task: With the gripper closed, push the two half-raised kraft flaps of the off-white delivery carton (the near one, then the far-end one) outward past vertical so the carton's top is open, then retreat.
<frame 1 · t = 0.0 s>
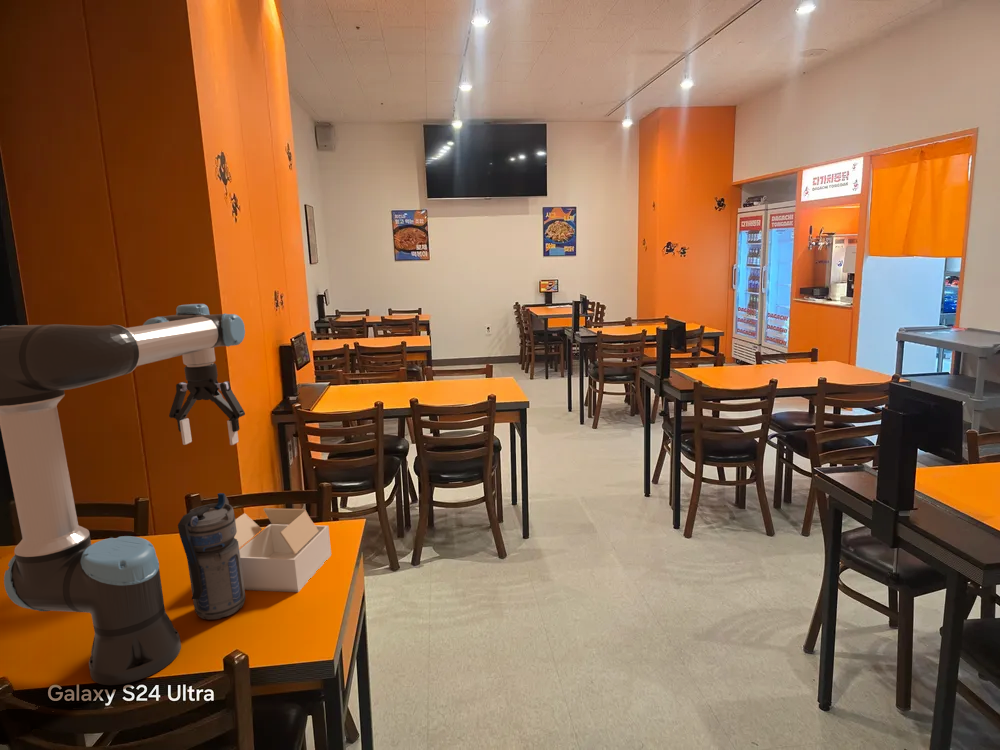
hand: (210, 443, 163), 28 cm above the table, fingers open, 13 cm apart
carton: (285, 571, 151), on the table
beverage bottle: (218, 612, 134), on the table
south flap: (300, 531, 146), point 11 cm above the table, hinge at 60.0°
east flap: (288, 516, 156), point 11 cm above the table, hinge at 60.0°
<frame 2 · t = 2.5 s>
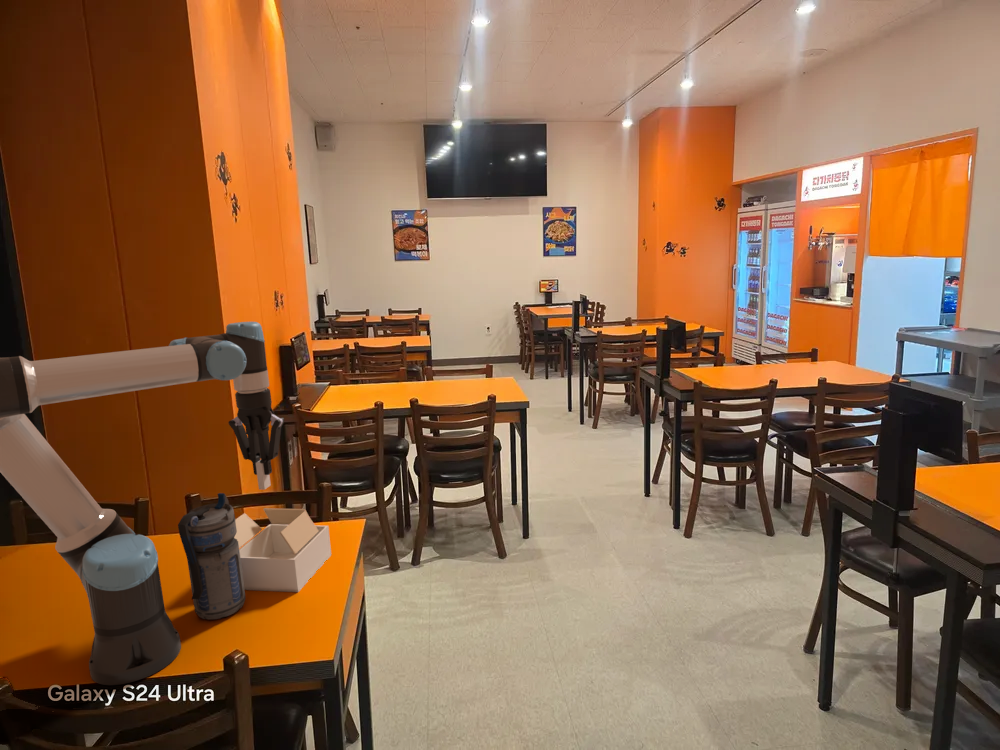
hand: (264, 487, 146), 22 cm above the table, fingers closed
nothing on the table moved.
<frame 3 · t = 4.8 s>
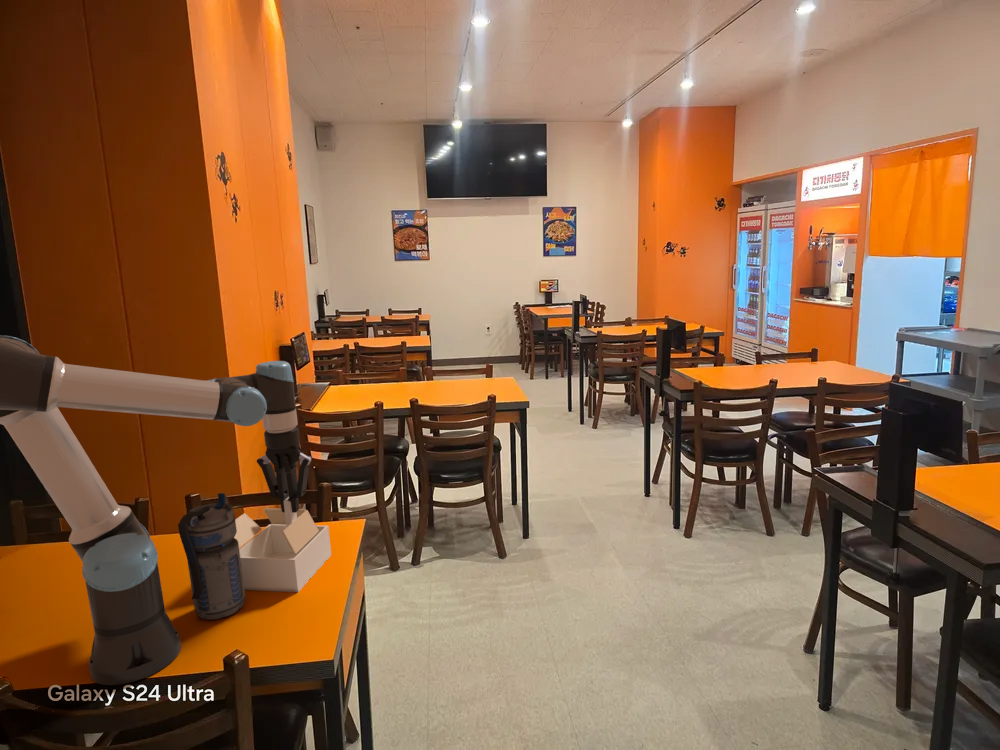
hand: (292, 524, 146), 13 cm above the table, fingers closed
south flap: (301, 531, 146), point 11 cm above the table, hinge at 65.8°, touching gripper
everything else where it was.
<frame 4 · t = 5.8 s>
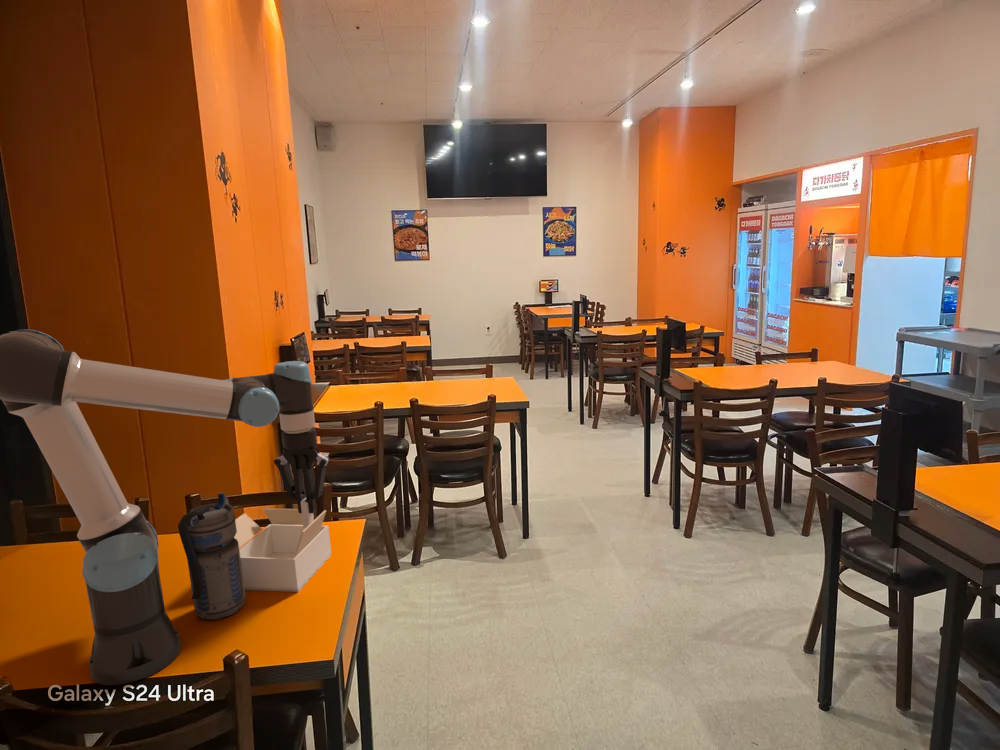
hand: (308, 525, 146), 13 cm above the table, fingers closed
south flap: (311, 531, 146), point 11 cm above the table, hinge at 113.1°, touching gripper
everything else where it was.
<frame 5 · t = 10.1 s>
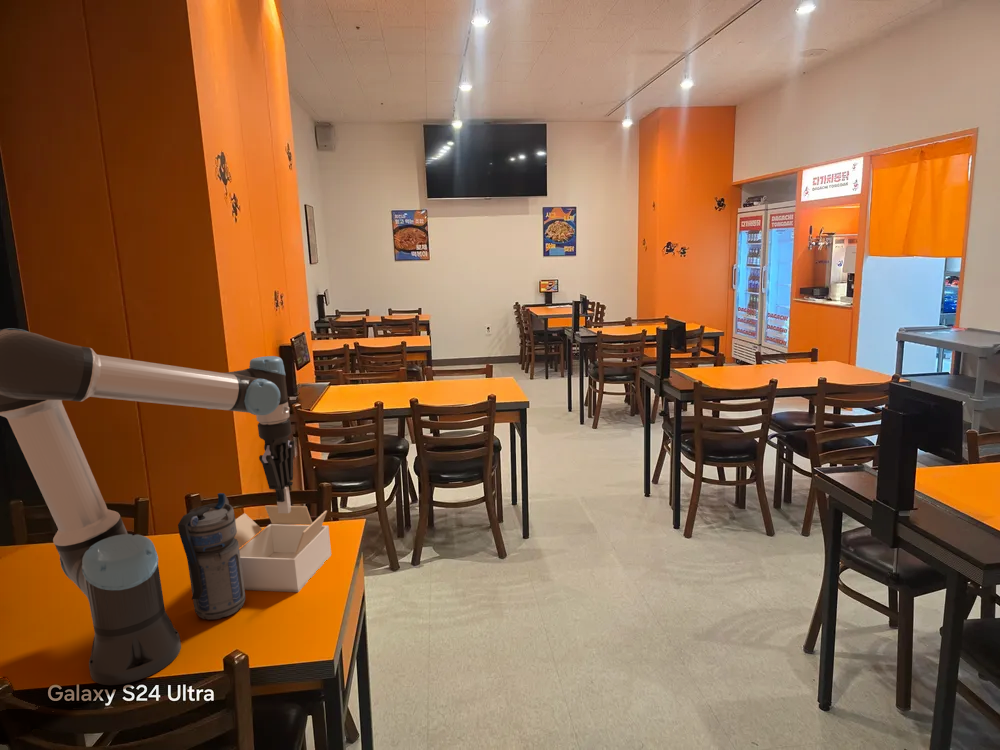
hand: (284, 512, 154), 13 cm above the table, fingers closed
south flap: (311, 531, 146), point 11 cm above the table, hinge at 115.0°
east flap: (288, 515, 156), point 11 cm above the table, hinge at 68.6°, touching gripper
everything else where it was.
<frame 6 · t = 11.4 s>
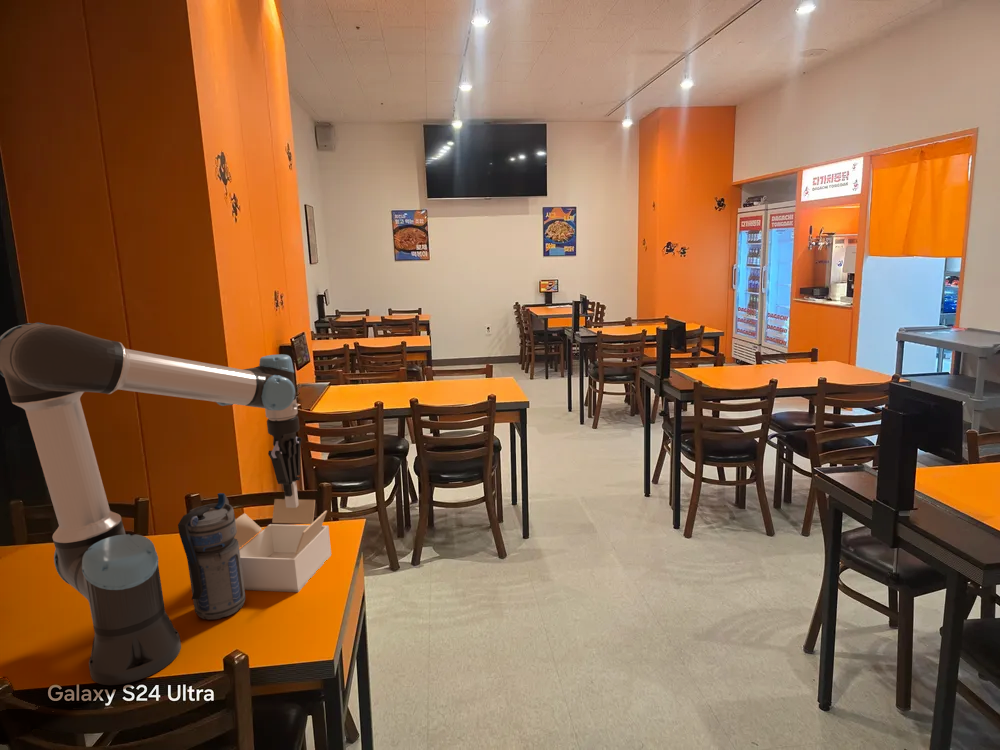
hand: (292, 506, 158), 13 cm above the table, fingers closed
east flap: (293, 511, 159), point 11 cm above the table, hinge at 115.0°, touching gripper
everything else where it was.
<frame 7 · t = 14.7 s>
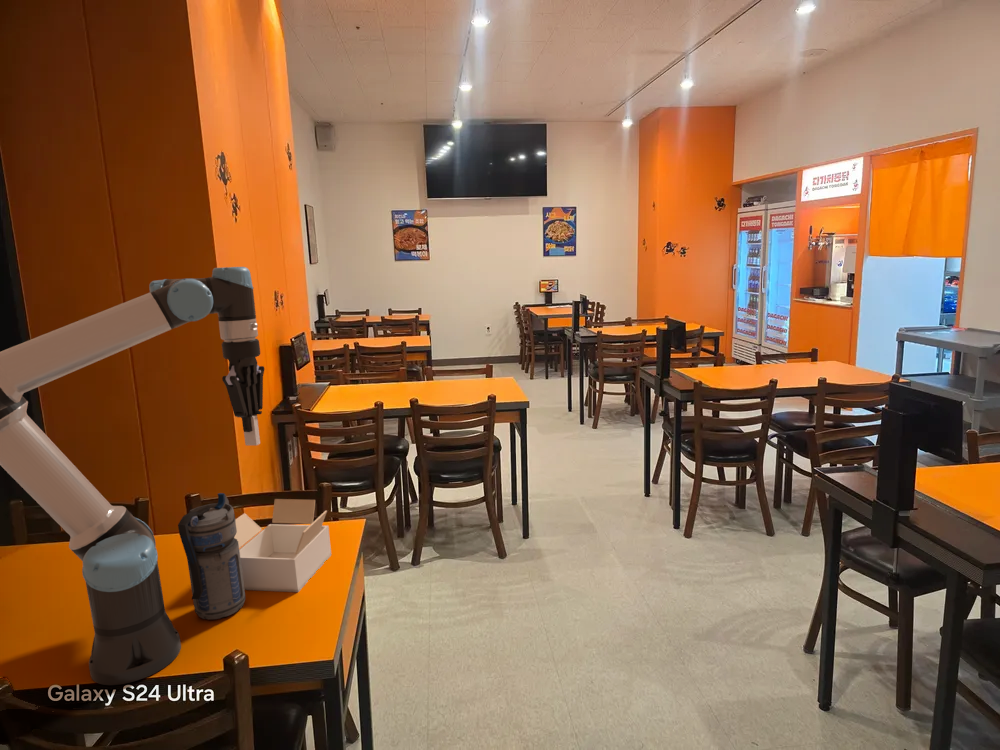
hand: (252, 444, 138), 34 cm above the table, fingers closed
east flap: (293, 511, 159), point 11 cm above the table, hinge at 115.0°
everything else where it was.
at the end: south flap at +115° (first picture: +60°); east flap at +115° (first picture: +60°) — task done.
